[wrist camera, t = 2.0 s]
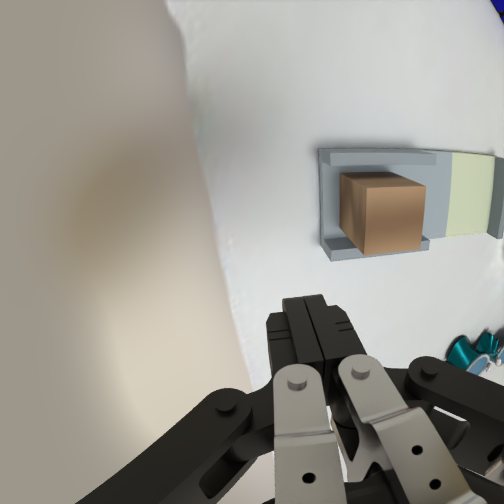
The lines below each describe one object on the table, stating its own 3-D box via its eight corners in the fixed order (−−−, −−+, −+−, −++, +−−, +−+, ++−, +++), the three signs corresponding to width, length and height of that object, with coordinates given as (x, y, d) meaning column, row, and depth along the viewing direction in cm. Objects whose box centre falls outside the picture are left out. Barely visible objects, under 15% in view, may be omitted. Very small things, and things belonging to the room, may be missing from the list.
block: (339, 172, 25) (366, 187, 19) (390, 171, 25) (426, 186, 19) (339, 227, 27) (363, 255, 21) (388, 223, 27) (420, 249, 21)
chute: (318, 149, 25) (330, 153, 22) (494, 155, 25) (514, 161, 22) (320, 245, 29) (330, 261, 25) (486, 229, 29) (504, 240, 26)
